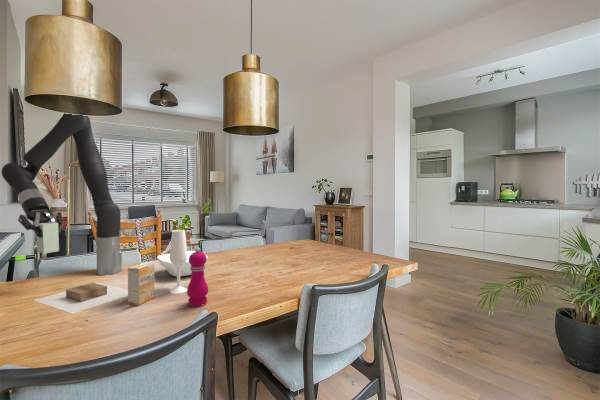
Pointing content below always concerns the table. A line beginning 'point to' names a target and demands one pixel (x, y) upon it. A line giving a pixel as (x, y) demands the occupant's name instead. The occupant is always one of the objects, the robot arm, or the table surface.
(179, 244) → the champagne flute
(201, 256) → the pepper mill
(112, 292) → the grey board
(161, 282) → the table surface
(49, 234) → the sage block
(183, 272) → the bowl
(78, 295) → the walnut plinth
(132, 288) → the supplement box
